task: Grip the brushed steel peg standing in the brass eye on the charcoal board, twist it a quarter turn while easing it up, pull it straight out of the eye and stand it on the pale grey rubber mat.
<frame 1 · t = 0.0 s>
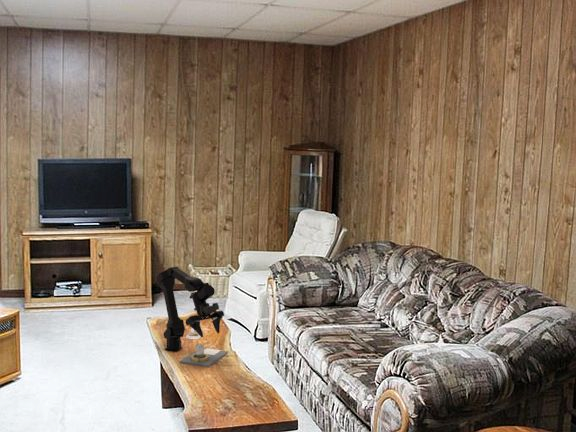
hand: (210, 335, 317), 15 cm above the table, tool tilted 35°, fingers open, 9 cm apart
peg: (199, 352, 325), in the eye, point 4 cm above the table, touching board
board: (204, 358, 330), on the table
hook: (193, 337, 363), on the table
mat: (210, 352, 336), resting on board
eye: (199, 357, 325), on the board, point 1 cm above the table
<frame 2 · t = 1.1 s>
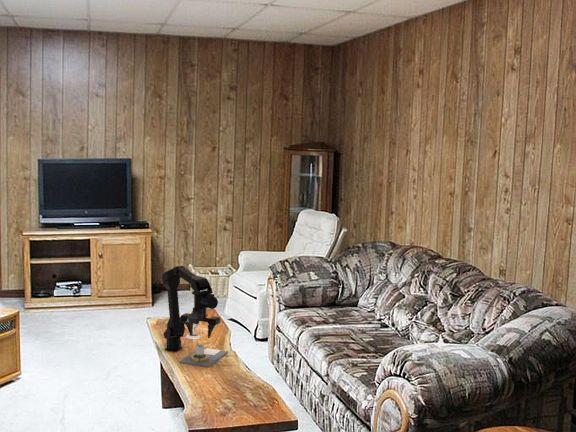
hand: (200, 336, 324), 12 cm above the table, tool pointing down, fingers open, 9 cm apart
nothing on the table moved.
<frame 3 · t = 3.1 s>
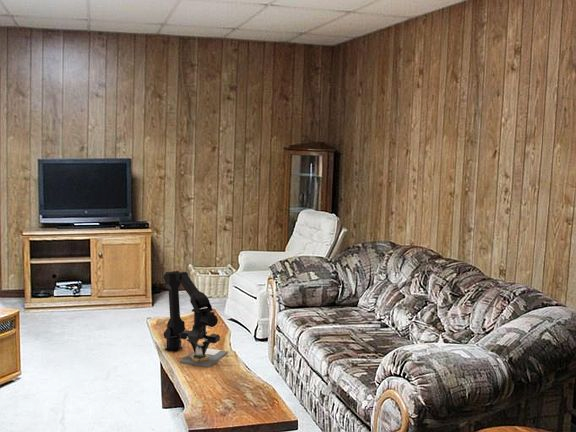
hand: (199, 354, 325), 4 cm above the table, tool pointing down, fingers closed on peg, 4 cm apart
peg: (199, 352, 325), in the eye, point 4 cm above the table, touching board, gripper
everything else where it was.
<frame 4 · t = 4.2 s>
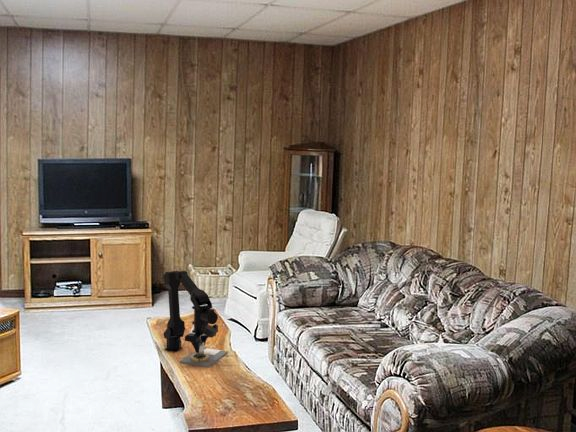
hand: (199, 351, 325), 5 cm above the table, tool pointing down, fingers closed on peg, 4 cm apart
peg: (199, 349, 325), point 6 cm above the table, touching gripper
everything else where it was.
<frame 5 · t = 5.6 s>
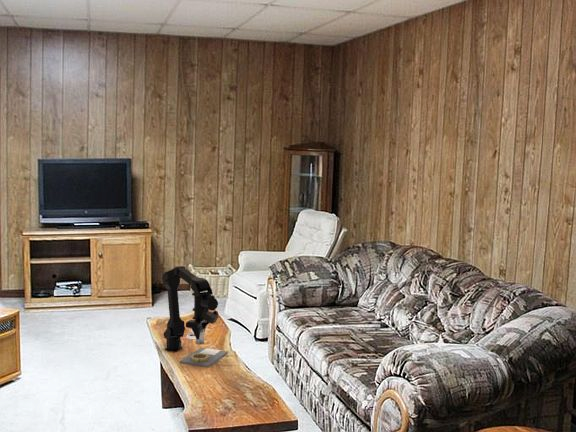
hand: (200, 338, 324), 11 cm above the table, tool pointing down, fingers closed on peg, 4 cm apart
peg: (200, 336, 324), point 12 cm above the table, touching gripper
everything else where it was.
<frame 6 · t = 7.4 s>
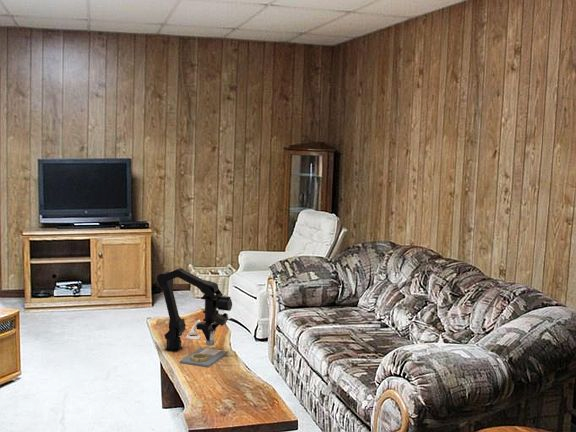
hand: (210, 339, 335), 7 cm above the table, tool pointing down, fingers closed on peg, 4 cm apart
peg: (210, 337, 335), point 8 cm above the table, touching gripper
everything else where it was.
when the fingers open (5 cm above the table, at t = 8.6 s): peg drops 1 cm, resting on mat.
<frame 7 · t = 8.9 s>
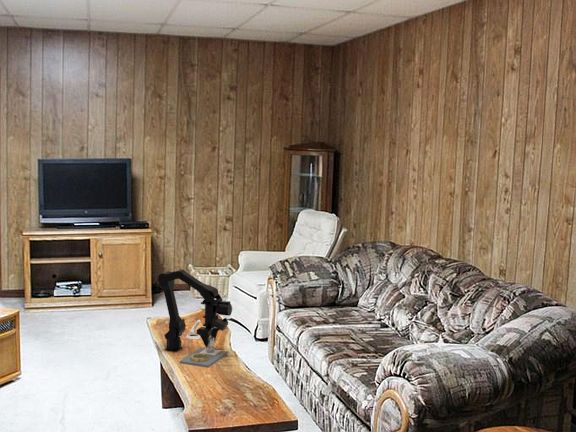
hand: (210, 344, 336), 5 cm above the table, tool pointing down, fingers open, 8 cm apart
peg: (210, 344, 336), point 5 cm above the table, touching mat
everything else where it was.
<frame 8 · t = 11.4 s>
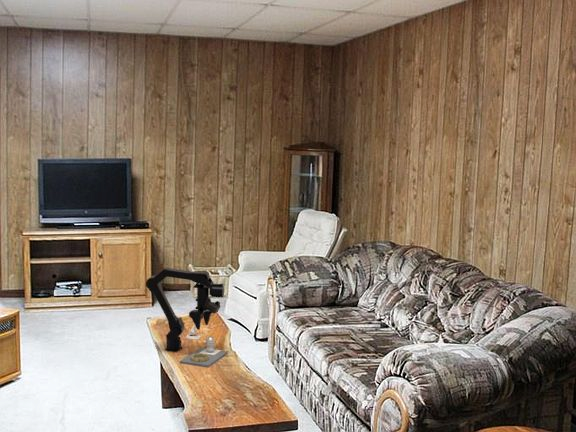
hand: (202, 327, 340), 12 cm above the table, tool pointing down, fingers open, 9 cm apart
nothing on the table moved.
at the end: peg 0.0 cm off-centre on the mat, point 3.8 cm above the mat's base; peg tilted 0°; the gripper is holding nothing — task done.
